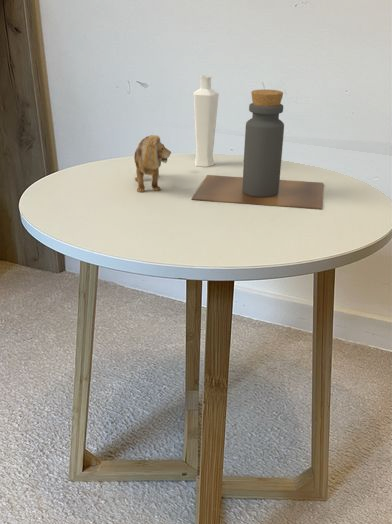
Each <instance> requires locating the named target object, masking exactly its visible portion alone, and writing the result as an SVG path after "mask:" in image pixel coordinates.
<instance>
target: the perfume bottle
mask: <svg viewBox="0 0 392 524" xmlns="http://www.w3.org/2000/svg"><path fill="white" fill-rule="evenodd" d="M212 78H213V76H211V75H199V80H200V82H199V87H200V88H198V89H196V90H195V91H193V93H192V95H193V114H194V115H193V116H194V138H195V139H194V140H195V157H194V161H193V162H194V166H195V167H205V168H209V167H212V166H213V165H215V160H214V146H215V136H216V125H217V117H218V116H217V115H218V106H219V94H220V93H218V92H217V91H216V90H214V89H212Z"/></svg>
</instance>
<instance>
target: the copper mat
mask: <svg viewBox="0 0 392 524" xmlns="http://www.w3.org/2000/svg"><path fill="white" fill-rule="evenodd" d="M242 186H243V176H231V175H230V176H229V175H217V174H216V175H215V174H213V175H212V174H207V175H206V176H205V178H204V179H203V180H202V182H201V184H200V185H199V186H198V188H197V189H196V191H195V193H194V194H193V196H192V197H191V201H203V202H215V203H229V204H231V203H232V204H243V205H257V206H269V207H270V206H271V207H284V208H298V209H312V210H323V195H324V182H321V181H320V182H318V181H304V180H302V181H301V180H292V179H291V180H288V179H287V180H286V179H280V181H279V191H278V194H277V195H275V196H271V197H254V196H249V195H247V194H244V193H243V191H242Z"/></svg>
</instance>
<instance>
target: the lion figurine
mask: <svg viewBox="0 0 392 524" xmlns="http://www.w3.org/2000/svg"><path fill="white" fill-rule="evenodd" d="M171 154H172V151H171V150H169V149H168V148H167V147H165V145H164V144H163V143H162V141H161V137H160V136H159V135H153V134H151V135H147V136H145V137H144V138H142V139H141V141H140V142H139V143H138V146H137V148H136V149H135V152H134V157H133V159H134V165H135V167H136V171H135V172H136V177H135V178H134V180H135V181H136V182H137V184H138V185H137V186H138V187H137V188H136V192H137V193H144V192H145V189H146V188H145V183H144V182H145V181H144V176H145V175H146V176H147V175H148V176H152V179H151V188H152V190H153V191H154V192H157V191H158V192H159V191H160V190H162V189H161V186H159V184H158V183H159V176H160V175H159V174H160V172H159V171H160V170H159V168H160V167H161V165H162V163H163V164H167V162H168V158H169V157H171Z"/></svg>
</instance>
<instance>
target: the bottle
mask: <svg viewBox="0 0 392 524" xmlns="http://www.w3.org/2000/svg"><path fill="white" fill-rule="evenodd" d="M250 94H251V103H249V104H248V105H249V106H248V111H249V112H250V113H251V114H252V117H251V118H250V119H248V120H247V121H246V122H245V131H244V148H243V169H242V170H243V171H242V177H243V186H242V191H243V193H244V194H247V195H249V196H254V197H271V196H275V195H277V194H278V191H279V181H280V180H281V169H282V160H283V159H282V158H283V145H284V133H285V123H284V122H283V121H282V120H281V119H280V118H279V117H280V114H282V113H283V112H284V104H282V100H283V97H284V96H283V95H284V92H283V91H281V90H276V89H253V90H251V93H250Z"/></svg>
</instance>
